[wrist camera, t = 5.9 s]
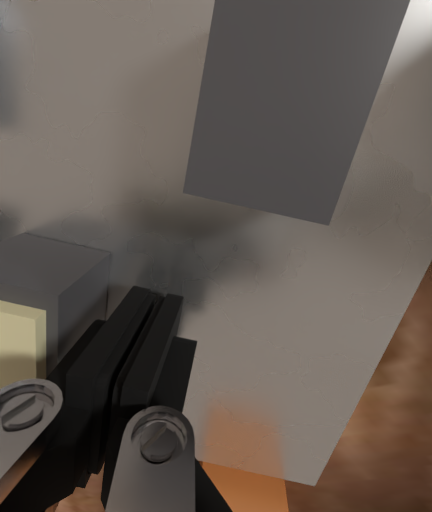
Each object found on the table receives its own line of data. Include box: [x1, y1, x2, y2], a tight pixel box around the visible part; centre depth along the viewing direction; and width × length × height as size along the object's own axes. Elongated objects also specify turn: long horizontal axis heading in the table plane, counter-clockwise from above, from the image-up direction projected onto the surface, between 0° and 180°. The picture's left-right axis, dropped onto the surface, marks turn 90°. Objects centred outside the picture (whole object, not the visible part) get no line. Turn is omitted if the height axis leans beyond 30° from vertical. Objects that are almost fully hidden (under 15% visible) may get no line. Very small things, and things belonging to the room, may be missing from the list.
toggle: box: [183, 0, 410, 226], centre depth 7 cm, size 3×4×3 cm
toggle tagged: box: [0, 233, 111, 389], centre depth 9 cm, size 3×4×3 cm
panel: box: [0, 0, 432, 486], centre depth 9 cm, size 18×20×4 cm
